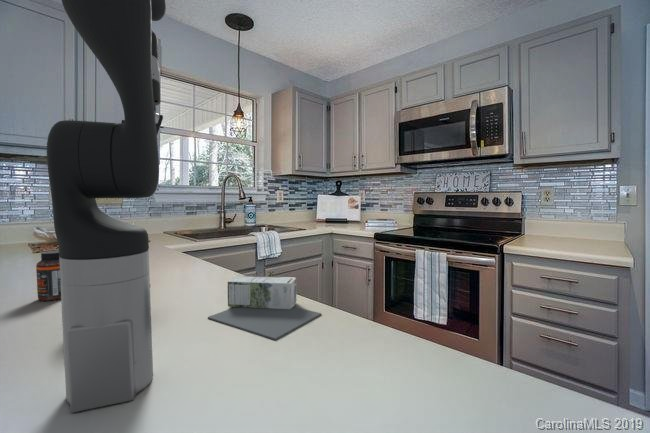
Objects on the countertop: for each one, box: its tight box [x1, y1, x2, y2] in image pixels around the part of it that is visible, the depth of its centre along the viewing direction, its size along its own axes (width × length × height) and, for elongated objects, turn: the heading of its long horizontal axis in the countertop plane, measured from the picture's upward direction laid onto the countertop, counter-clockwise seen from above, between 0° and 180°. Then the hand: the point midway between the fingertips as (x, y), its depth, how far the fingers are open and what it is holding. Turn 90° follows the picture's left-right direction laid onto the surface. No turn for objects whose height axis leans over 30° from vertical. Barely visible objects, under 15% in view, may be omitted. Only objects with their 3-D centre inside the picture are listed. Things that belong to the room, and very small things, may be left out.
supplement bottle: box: [35, 250, 61, 302], centre depth 77 cm, size 6×6×11 cm
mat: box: [207, 306, 322, 341], centre depth 65 cm, size 18×14×1 cm
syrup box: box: [227, 275, 297, 309], centre depth 71 cm, size 6×6×14 cm
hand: (142, 161), depth 69 cm, fingers closed
